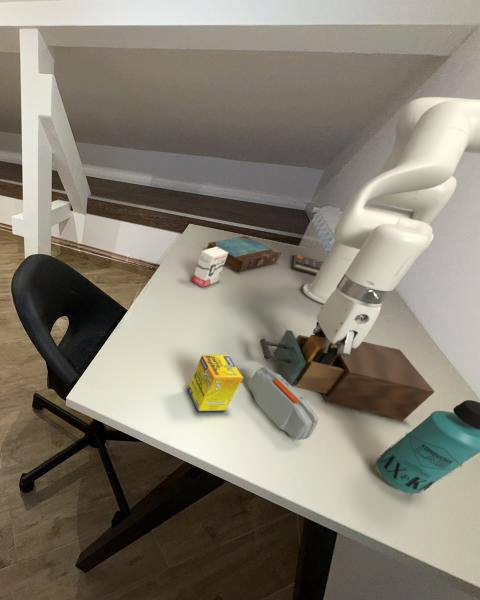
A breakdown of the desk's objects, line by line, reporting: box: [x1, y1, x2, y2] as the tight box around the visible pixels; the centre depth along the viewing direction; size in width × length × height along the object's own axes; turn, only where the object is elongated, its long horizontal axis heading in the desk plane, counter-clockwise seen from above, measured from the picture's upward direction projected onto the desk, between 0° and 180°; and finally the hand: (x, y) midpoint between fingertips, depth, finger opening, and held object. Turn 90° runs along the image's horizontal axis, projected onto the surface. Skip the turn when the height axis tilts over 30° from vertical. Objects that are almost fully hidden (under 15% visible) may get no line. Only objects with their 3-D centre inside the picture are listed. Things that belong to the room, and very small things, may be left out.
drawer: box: [259, 329, 346, 394], centre depth 72 cm, size 19×11×8 cm, turn 74°
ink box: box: [191, 247, 228, 288], centre depth 106 cm, size 8×5×12 cm, turn 123°
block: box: [302, 334, 337, 365], centre depth 69 cm, size 4×4×4 cm
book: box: [206, 235, 282, 273], centre depth 127 cm, size 23×18×5 cm
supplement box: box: [187, 354, 244, 414], centre depth 63 cm, size 6×6×11 cm
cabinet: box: [321, 337, 435, 422], centre depth 69 cm, size 15×13×10 cm
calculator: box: [292, 254, 324, 276], centre depth 126 cm, size 12×1×15 cm
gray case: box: [247, 366, 320, 441], centre depth 62 cm, size 14×3×8 cm, turn 17°
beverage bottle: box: [375, 399, 480, 495], centre depth 49 cm, size 6×7×20 cm
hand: (315, 356), depth 70 cm, fingers closed on block, 4 cm apart
